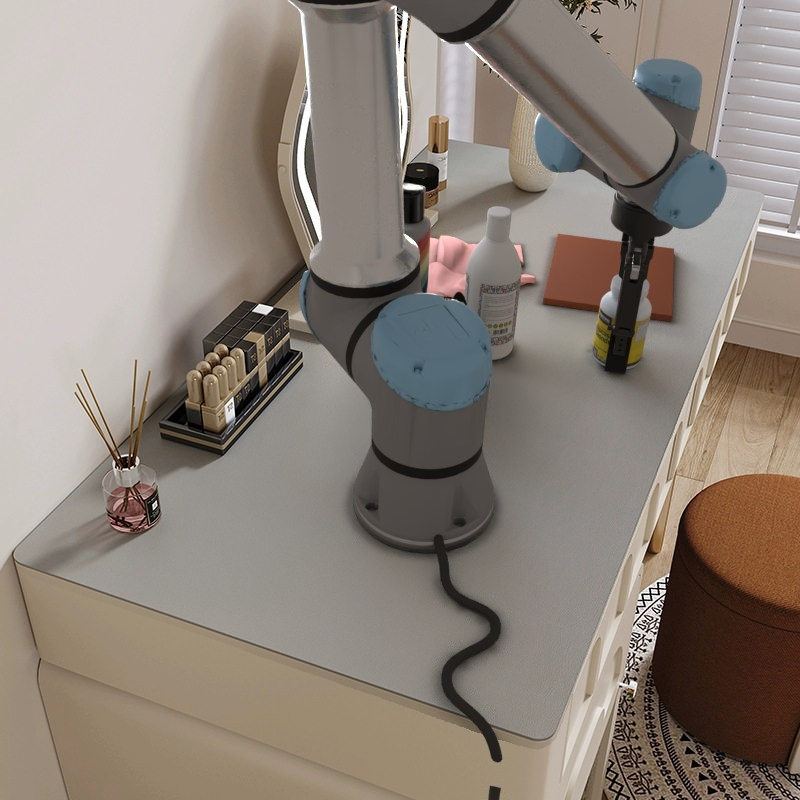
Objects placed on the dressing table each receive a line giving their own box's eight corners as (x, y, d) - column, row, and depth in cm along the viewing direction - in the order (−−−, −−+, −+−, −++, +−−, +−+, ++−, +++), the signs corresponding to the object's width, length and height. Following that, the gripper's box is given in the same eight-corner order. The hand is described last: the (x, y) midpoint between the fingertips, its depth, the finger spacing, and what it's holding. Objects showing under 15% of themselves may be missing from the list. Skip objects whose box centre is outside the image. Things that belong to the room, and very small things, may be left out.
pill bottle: (581, 351, 137) (594, 275, 130) (620, 339, 139) (635, 264, 132) (610, 377, 132) (625, 300, 125) (650, 364, 135) (667, 288, 128)
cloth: (370, 278, 151) (370, 263, 149) (447, 222, 165) (448, 208, 164) (491, 322, 142) (492, 307, 140) (561, 259, 157) (563, 245, 155)
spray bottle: (379, 325, 141) (381, 190, 128) (392, 304, 145) (396, 172, 133) (418, 333, 139) (424, 198, 127) (431, 312, 143) (438, 180, 131)
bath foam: (523, 350, 137) (540, 213, 125) (485, 368, 133) (498, 229, 121) (488, 327, 141) (500, 193, 129) (450, 344, 137) (459, 208, 125)
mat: (671, 321, 143) (672, 315, 143) (542, 303, 146) (543, 297, 146) (673, 254, 159) (674, 248, 158) (556, 238, 162) (557, 233, 161)
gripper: (678, 237, 113) (642, 402, 127) (679, 165, 129) (647, 320, 143) (609, 228, 115) (582, 393, 129) (619, 158, 130) (593, 313, 144)
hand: (616, 355), depth 136 cm, fingers closed on pill bottle, 6 cm apart
